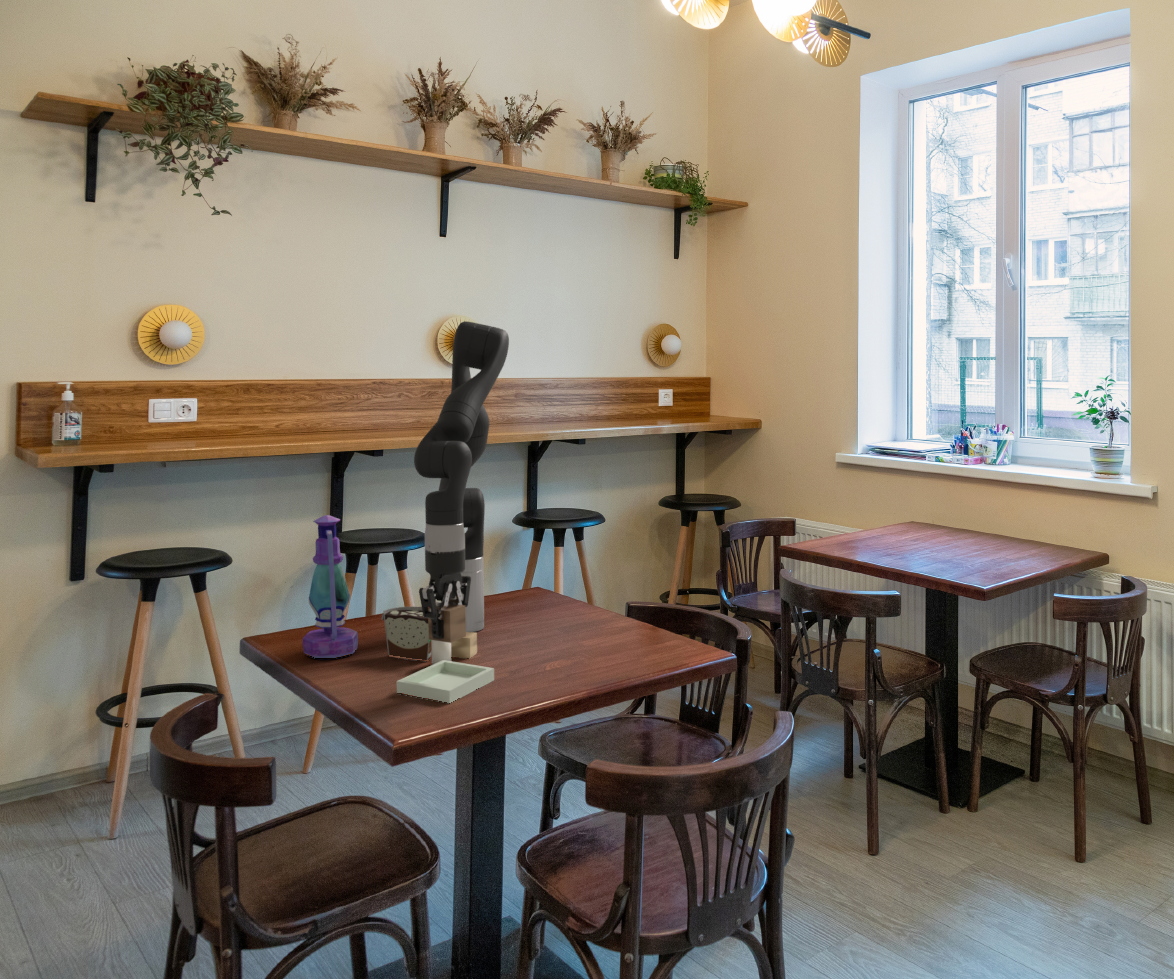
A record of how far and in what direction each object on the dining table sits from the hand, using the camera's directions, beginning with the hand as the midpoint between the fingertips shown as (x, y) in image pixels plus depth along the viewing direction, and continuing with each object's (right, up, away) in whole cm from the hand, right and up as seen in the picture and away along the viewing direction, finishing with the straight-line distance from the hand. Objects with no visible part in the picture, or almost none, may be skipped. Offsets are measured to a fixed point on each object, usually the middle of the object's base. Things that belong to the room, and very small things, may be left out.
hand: (446, 634), depth 180 cm
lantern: (-28, -8, +23) cm, 37 cm away
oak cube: (0, -8, +22) cm, 23 cm away
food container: (-10, -8, +22) cm, 25 cm away
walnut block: (0, -1, 0) cm, 1 cm away
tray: (0, -10, +1) cm, 10 cm away
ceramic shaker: (-3, -9, +15) cm, 18 cm away
